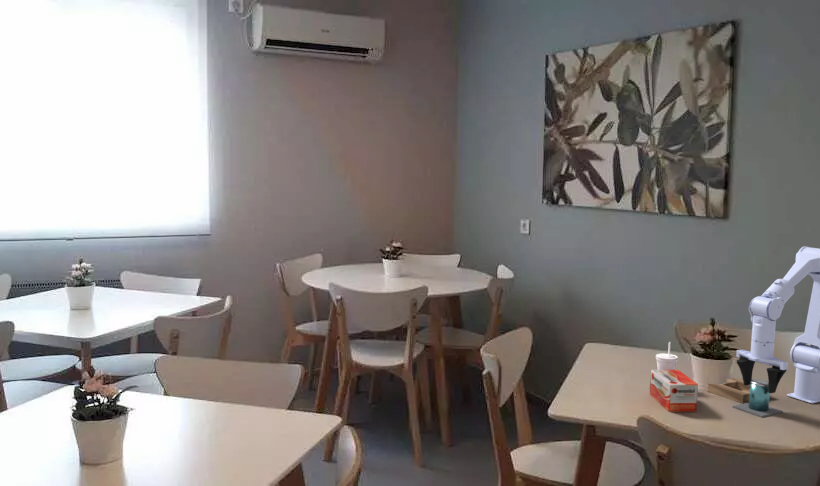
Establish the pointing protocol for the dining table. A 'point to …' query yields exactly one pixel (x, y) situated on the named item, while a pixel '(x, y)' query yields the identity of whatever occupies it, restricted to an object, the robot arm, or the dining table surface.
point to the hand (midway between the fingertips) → (759, 388)
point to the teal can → (759, 395)
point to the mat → (758, 413)
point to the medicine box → (674, 390)
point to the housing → (732, 390)
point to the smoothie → (666, 360)
